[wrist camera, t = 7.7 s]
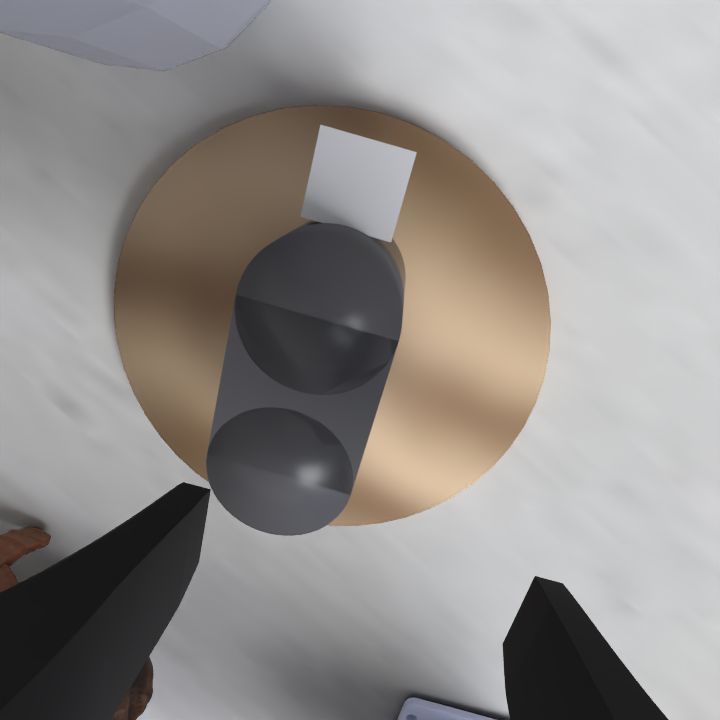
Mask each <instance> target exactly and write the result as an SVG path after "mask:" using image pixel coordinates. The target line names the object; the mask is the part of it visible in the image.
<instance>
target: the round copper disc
mask: <svg viewBox="0 0 720 720" xmlns="http://www.w3.org/2000/svg"><path fill="white" fill-rule="evenodd" d="M320 125H324V126H327V127H331V128H334V129H338V130H341V131H344V132H348V133H351V134H355V135H358V136H362V137H365V138H369V139H372V140H376V141H379V142H383V143H386V144H390V145H393V146H397V147H400V148H404V149H407V150H411V151H414V152H417V153H416V157H415V160H414V164H413V167H412V171H411V174H410V178H409V181H408V185H407V188H406V192H405V195H404V199H403V202H402V206H401V209H400V213H399V216H398V220H397V223H396V227H395V230H394V234H393V237H392V238H393V240H394V241H395V243H396V244H397V246H398V248H399V250H400V252H401V254H402V258H403V261H404V266H405V276H406V280H405V293H404V306H403V319H402V330H401V335H400V339H399V343H398V346H397V349H396V352H395V355H394V358H393V362H392V365H391V368H390V371H389V374H388V378H387V381H386V384H385V387H384V390H383V394H382V397H381V400H380V403H379V406H378V410H377V413H376V416H375V419H374V422H373V425H372V429H371V432H370V435H369V438H368V441H367V445H366V448H365V451H364V454H363V457H362V461H361V464H360V467H359V470H358V473H357V477H356V480H355V483H354V486H353V489H352V492H351V496H350V498H349V501H348V503H347V505H346V506H345V508H344V510H343V511H342V512H341V513H340V514H339V516H338V517H336V518H335V519H334V520H333V521H332V522H331V523H329V524H328V525H330V526H358V525H367V524H376V523H383V522H387V521H392V520H396V519H401V518H405V517H408V516H411V515H414V514H416V513H419V512H422V511H425V510H428V509H430V508H432V507H434V506H436V505H438V504H440V503H442V502H444V501H446V500H448V499H450V498H452V497H454V496H455V495H457V494H458V493H460V492H461V491H463V490H464V489H466V488H467V487H469V486H470V485H472V484H473V483H474V482H475V481H477V480H478V479H479V478H480V477H481V476H482V475H484V474H485V473H486V472H487V471H488V470H489V469H491V468H492V467H493V466H494V464H495V463H496V462H497V461H498V460H499V459H500V458H501V457H502V456H503V454H504V453H505V452H506V451H507V450H508V449H509V448H510V446H511V445H512V443H513V442H514V440H515V439H516V437H517V436H518V434H519V433H520V432H521V430H522V429H523V427H524V425H525V423H526V421H527V419H528V417H529V415H530V413H531V411H532V409H533V407H534V405H535V403H536V400H537V397H538V395H539V392H540V389H541V386H542V383H543V380H544V376H545V371H546V366H547V361H548V356H549V349H550V329H551V319H550V308H549V297H548V291H547V286H546V282H545V278H544V274H543V270H542V266H541V262H540V260H539V257H538V255H537V252H536V250H535V247H534V245H533V242H532V240H531V237H530V235H529V233H528V231H527V230H526V228H525V226H524V224H523V223H522V221H521V219H520V218H519V216H518V214H517V212H516V211H515V209H514V207H513V206H512V205H511V203H510V202H509V201H508V200H507V198H506V197H505V196H504V194H503V193H502V192H501V191H500V189H499V188H498V187H497V185H496V184H495V183H494V182H493V181H492V180H491V179H490V178H489V177H488V176H487V175H486V174H485V173H484V172H483V171H482V170H481V169H480V168H479V167H478V166H477V165H476V164H474V163H473V162H472V161H471V160H470V159H469V158H468V157H466V156H465V155H463V154H462V153H461V152H459V151H458V150H456V149H455V148H454V147H452V146H451V145H449V144H448V143H447V142H445V141H444V140H442V139H441V138H439V137H437V136H435V135H433V134H431V133H429V132H427V131H425V130H423V129H421V128H419V127H417V126H416V125H414V124H411V123H408V122H405V121H403V120H400V119H397V118H394V117H391V116H388V115H385V114H382V113H379V112H373V111H368V110H363V109H358V108H353V107H347V106H325V105H310V106H300V107H290V108H281V109H277V110H273V111H270V112H266V113H262V114H258V115H254V116H250V117H248V118H246V119H243V120H241V121H238V122H236V123H234V124H231V125H229V126H227V127H224V128H222V129H220V130H219V131H217V132H215V133H214V134H212V135H210V136H209V137H207V138H205V139H204V140H202V141H201V142H199V143H197V144H196V145H194V146H193V147H192V148H191V149H190V150H189V151H187V152H186V153H185V154H184V155H183V156H181V157H180V158H179V159H178V160H177V161H175V162H174V163H173V164H172V165H171V166H170V167H169V169H168V170H167V171H166V172H165V173H164V174H163V175H162V177H161V178H160V179H159V180H158V181H157V182H156V183H155V185H154V186H153V187H152V189H151V190H150V192H149V193H148V195H147V196H146V198H145V200H144V201H143V203H142V204H141V206H140V207H139V209H138V211H137V213H136V215H135V217H134V219H133V222H132V224H131V226H130V228H129V230H128V233H127V235H126V238H125V241H124V245H123V248H122V252H121V255H120V259H119V262H118V268H117V275H116V282H115V289H114V318H115V326H116V334H117V342H118V346H119V350H120V354H121V358H122V362H123V366H124V369H125V372H126V374H127V377H128V379H129V382H130V385H131V387H132V390H133V392H134V394H135V396H136V398H137V400H138V402H139V403H140V405H141V407H142V409H143V411H144V413H145V415H146V416H147V418H148V419H149V421H150V422H151V423H152V425H153V426H154V428H155V429H156V431H157V432H158V434H159V435H160V436H161V438H162V439H163V440H164V441H165V442H166V443H167V444H168V446H169V447H170V448H171V449H172V450H173V451H174V452H175V454H176V455H177V456H178V457H179V458H180V459H182V460H183V461H184V462H185V463H186V464H187V465H188V466H189V467H190V468H191V469H192V470H194V471H195V472H196V473H197V474H198V475H200V476H201V477H203V478H204V479H205V480H207V481H208V482H209V480H208V475H207V469H206V459H207V451H208V446H209V440H210V435H211V429H212V424H213V418H214V412H215V407H216V401H217V396H218V390H219V385H220V379H221V374H222V368H223V362H224V357H225V351H226V346H227V340H228V335H229V329H230V323H231V318H232V312H233V307H234V301H235V296H236V291H237V287H238V284H239V281H240V279H241V276H242V274H243V272H244V271H245V269H246V267H247V266H248V264H249V263H250V262H251V260H252V259H253V258H254V257H255V256H256V255H257V254H258V253H259V252H260V251H261V250H262V249H263V248H265V247H266V246H268V245H269V244H270V243H272V242H274V241H275V240H277V239H279V238H281V237H282V236H284V235H286V234H287V233H289V232H291V231H293V230H294V229H296V228H298V227H300V226H301V225H303V224H305V223H306V222H308V221H310V220H311V219H307V218H304V217H301V212H302V208H303V203H304V199H305V194H306V189H307V185H308V180H309V175H310V171H311V166H312V161H313V157H314V152H315V148H316V143H317V138H318V134H319V129H320Z"/></svg>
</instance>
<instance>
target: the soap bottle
mask: <svg viewBox="0 0 720 720" xmlns="http://www.w3.org/2000/svg"><path fill="white" fill-rule="evenodd" d="M269 2H270V0H0V33H3V34H6V35H10V36H13V37H16V38H19V39H23V40H26V41H29V42H32V43H36V44H39V45H42V46H45V47H49V48H52V49H55V50H58V51H62V52H65V53H68V54H72V55H75V56H78V57H81V58H85V59H88V60H91V61H94V62H98V63H101V64H105V65H114V66H123V67H132V68H142V69H151V70H160V71H166V70H168V69H171V68H174V67H176V66H179V65H182V64H184V63H187V62H190V61H192V60H195V59H197V58H200V57H203V56H205V55H208V54H211V53H213V52H216V51H219V50H221V49H224V48H226V47H228V46H229V45H230V44H231V43H232V42H233V41H234V40H235V39H236V38H237V36H238V35H239V34H240V33H241V32H242V31H243V30H244V29H245V28H246V27H247V26H248V25H249V24H250V23H251V22H252V21H253V20H254V19H255V18H256V16H257V15H258V14H259V13H260V12H261V11H262V10H263V9H264V8H265V7H266V6H267V5H268V4H269Z"/></svg>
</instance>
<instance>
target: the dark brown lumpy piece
mask: <svg viewBox="0 0 720 720" xmlns="http://www.w3.org/2000/svg"><path fill="white" fill-rule="evenodd" d="M50 539H51V536H50V535H49V534H48V533H46V532H44V531H42V530H41V529H38V528H35V527H27V528H24V529H21V530H10V531H9V532H8V533H6V534H4V535H0V592H2V591H4V590H6V589H8V588H10V587H12V586H14V585H16V584H18V581H17V579H16V577H15V575H14V574H13V572H12V571H11V569H10V567H9V566H11V565H12V564H13V563H14V562H15V561H17V560H18V559H19V558H21V557H22V556H23V555H25V554H28V553H29V552H32V551H35V550H36V549H39V548H43V547H45V546H47V545H48V543H49V541H50ZM152 683H153V666H152V662H151V660H150V658H149V657H148V659H147V660H146V662H145V664H144V665H143V667H142V669H141V670H140V672H139V674H138V675H137V677H136V679H135V680H134V682H133V684H132V685H131V687H130V689H129V690H128V692H127V694H126V695H125V697H124V699H123V700H122V702H121V704H120V705H119V707H118V709H117V710H116V712H115V714H114V716H113V718H112V720H136V719H137V718H138V717H139V716H140V715H141V714H142V713H143V712H144V710H145V709H146V706H147V704H148V702H149V701H150V699H151V697H152V693H153V688H152Z"/></svg>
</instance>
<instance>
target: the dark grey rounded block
mask: <svg viewBox="0 0 720 720" xmlns="http://www.w3.org/2000/svg"><path fill="white" fill-rule="evenodd" d="M416 153H417V152H414V151H411V150H407V149H404V148H400V147H397V146H393V145H390V144H386V143H383V142H379V141H376V140H372V139H369V138H365V137H362V136H358V135H355V134H351V133H348V132H344V131H341V130H338V129H334V128H331V127H327V126H324V125H320V129H319V134H318V138H317V143H316V148H315V152H314V157H313V161H312V166H311V171H310V175H309V180H308V185H307V189H306V194H305V199H304V203H303V208H302V212H301V217H304V218H307V219H311V220H310V221H308V222H306V223H305V224H303V225H301V226H300V227H298V228H296V229H294V230H293V231H291V232H289V233H287V234H286V235H284V236H282V237H281V238H279V239H277V240H275V241H274V242H272V243H270V244H269V245H268V246H266V247H265V248H263V249H262V250H261V251H260V252H259V253H258V254H257V255H256V256H255V257H254V258H253V259H252V260H251V262H250V263H249V264H248V266H247V267H246V269H245V271H244V272H243V274H242V276H241V279H240V281H239V284H238V287H237V291H236V296H235V301H234V307H233V312H232V318H231V323H230V329H229V335H228V340H227V346H226V351H225V357H224V362H223V368H222V374H221V379H220V385H219V390H218V396H217V401H216V407H215V412H214V418H213V424H212V429H211V435H210V440H209V446H208V451H207V459H206V469H207V475H208V480H209V483H210V485H211V488H212V490H213V492H214V494H215V496H216V497H217V499H218V500H219V502H220V503H221V504H222V505H223V506H224V508H225V509H226V510H227V511H228V512H229V513H231V514H232V515H233V516H234V517H235V518H237V519H238V520H239V521H241V522H243V523H244V524H246V525H248V526H250V527H252V528H254V529H257V530H260V531H263V532H266V533H270V534H276V535H301V534H306V533H310V532H313V531H316V530H318V529H320V528H322V527H324V526H326V525H328V524H329V523H331V522H332V521H333V520H334V519H335V518H336V517H338V516H339V514H340V513H341V512H342V511H343V510H344V508H345V506H346V505H347V503H348V501H349V498H350V496H351V492H352V489H353V486H354V483H355V480H356V477H357V473H358V470H359V467H360V464H361V461H362V457H363V454H364V451H365V448H366V445H367V441H368V438H369V435H370V432H371V429H372V425H373V422H374V419H375V416H376V413H377V410H378V406H379V403H380V400H381V397H382V394H383V390H384V387H385V384H386V381H387V378H388V374H389V371H390V368H391V365H392V362H393V358H394V355H395V352H396V349H397V346H398V343H399V339H400V335H401V330H402V319H403V306H404V293H405V280H406V276H405V266H404V261H403V258H402V254H401V252H400V250H399V248H398V246H397V244H396V243H395V241H394V240H393V238H392V237H393V234H394V230H395V227H396V223H397V220H398V216H399V213H400V209H401V206H402V202H403V199H404V195H405V192H406V188H407V185H408V181H409V178H410V174H411V171H412V167H413V164H414V160H415V157H416Z"/></svg>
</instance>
